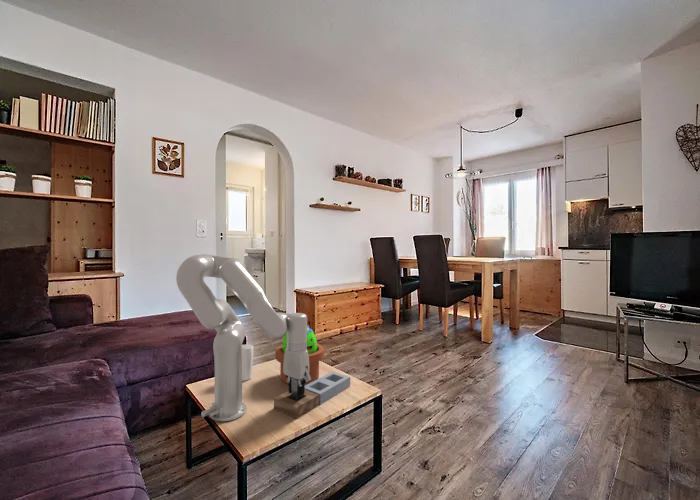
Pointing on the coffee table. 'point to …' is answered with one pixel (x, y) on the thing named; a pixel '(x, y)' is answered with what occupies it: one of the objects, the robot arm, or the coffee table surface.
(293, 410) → the socket block
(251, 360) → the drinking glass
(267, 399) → the coffee table surface
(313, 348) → the potted cactus
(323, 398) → the peg rack
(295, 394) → the metal peg
